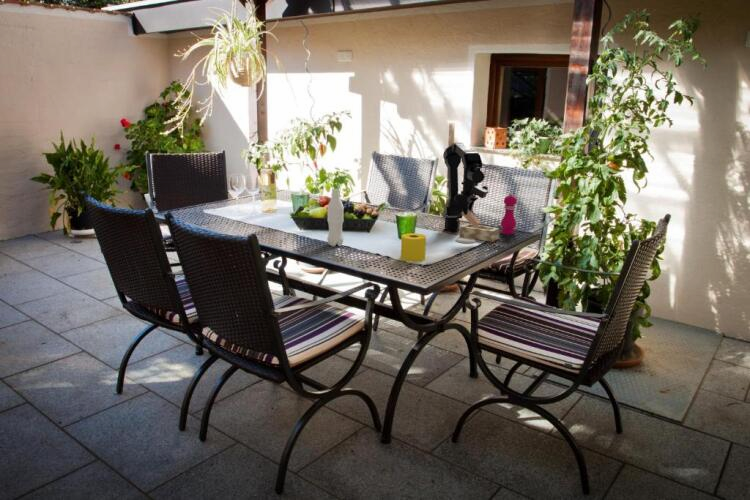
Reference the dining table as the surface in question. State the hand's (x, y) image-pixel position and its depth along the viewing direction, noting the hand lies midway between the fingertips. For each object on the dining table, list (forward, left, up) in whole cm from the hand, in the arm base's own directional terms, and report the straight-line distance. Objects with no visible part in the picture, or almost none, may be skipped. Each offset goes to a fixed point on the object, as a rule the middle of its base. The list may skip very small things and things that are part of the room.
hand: (467, 213), depth 279 cm
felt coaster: (0, 0, -13) cm, 13 cm away
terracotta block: (+1, 0, -3) cm, 3 cm away
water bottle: (-45, -41, -13) cm, 62 cm away
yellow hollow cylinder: (-7, -40, -13) cm, 42 cm away
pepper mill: (+11, +26, -13) cm, 31 cm away
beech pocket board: (+3, +9, -13) cm, 16 cm away
